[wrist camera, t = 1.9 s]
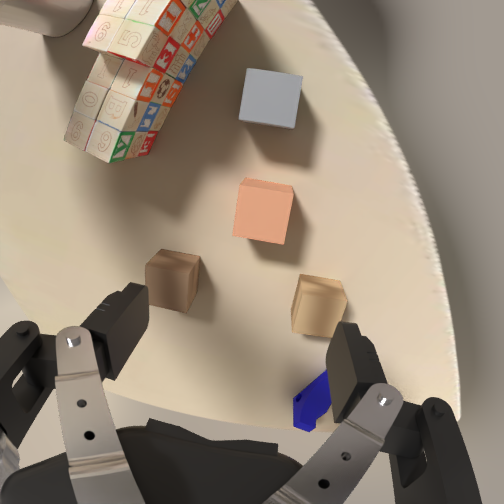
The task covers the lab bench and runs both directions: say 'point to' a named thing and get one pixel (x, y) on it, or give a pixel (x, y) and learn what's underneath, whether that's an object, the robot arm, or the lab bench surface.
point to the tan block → (172, 280)
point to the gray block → (270, 98)
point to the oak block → (317, 306)
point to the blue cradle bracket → (311, 403)
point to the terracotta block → (263, 210)
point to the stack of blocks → (139, 71)
